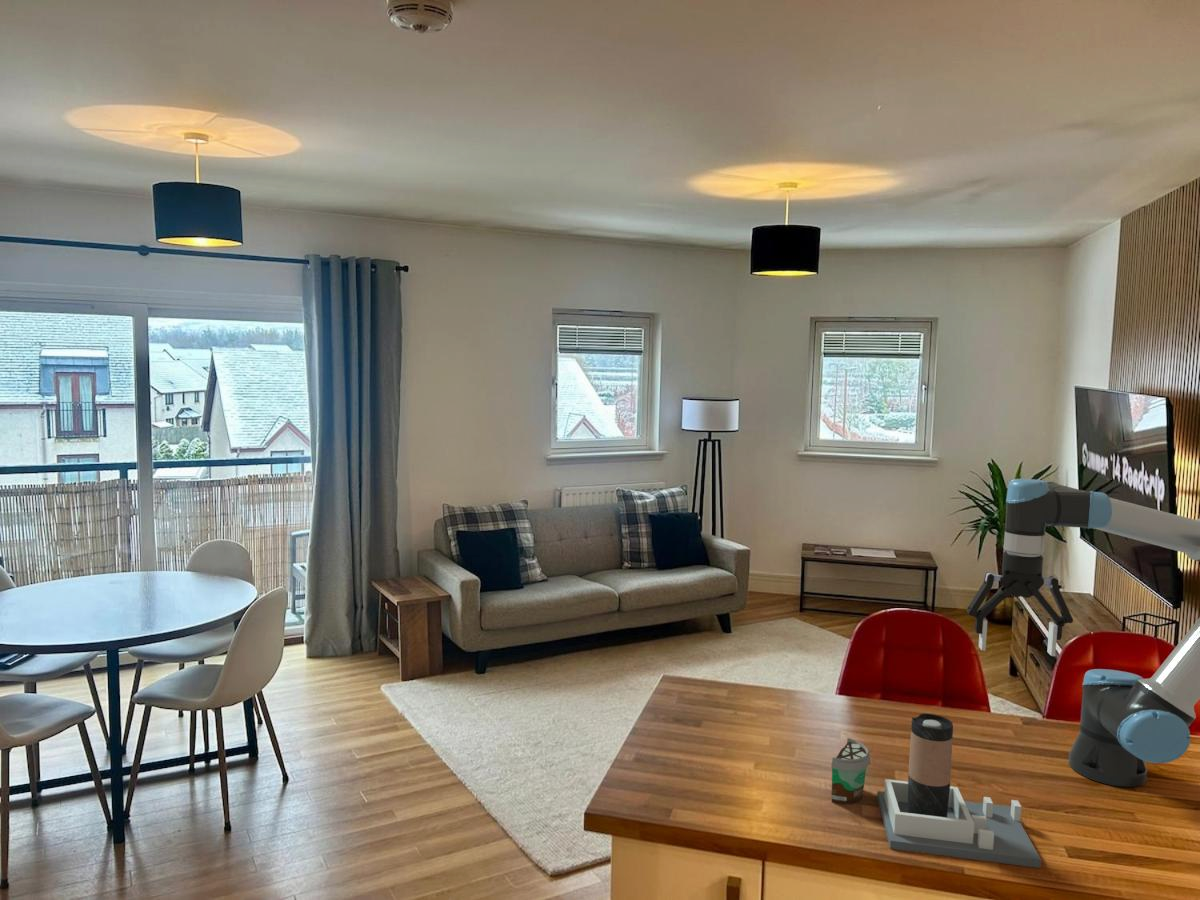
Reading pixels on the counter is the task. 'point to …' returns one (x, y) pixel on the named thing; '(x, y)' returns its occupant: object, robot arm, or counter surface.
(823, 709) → the counter surface
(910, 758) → the travel mug
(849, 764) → the food container
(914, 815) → the end holder
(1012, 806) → the clips
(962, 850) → the grey fixture board
